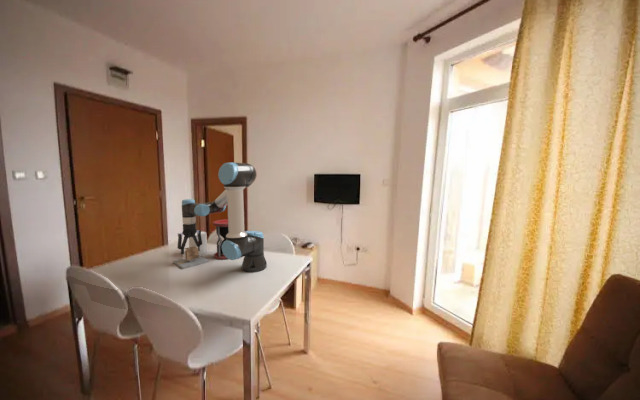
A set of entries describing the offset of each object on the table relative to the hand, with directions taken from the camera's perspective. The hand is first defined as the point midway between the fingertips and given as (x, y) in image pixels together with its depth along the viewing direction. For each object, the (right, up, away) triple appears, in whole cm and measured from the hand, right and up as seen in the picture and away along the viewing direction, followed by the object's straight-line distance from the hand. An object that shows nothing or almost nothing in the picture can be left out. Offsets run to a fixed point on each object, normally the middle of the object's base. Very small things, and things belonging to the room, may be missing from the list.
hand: (190, 257), depth 159 cm
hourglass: (+18, -2, +14) cm, 23 cm away
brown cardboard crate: (0, 0, 0) cm, 0 cm away
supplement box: (-5, -1, +20) cm, 20 cm away
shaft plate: (0, -3, 0) cm, 3 cm away
